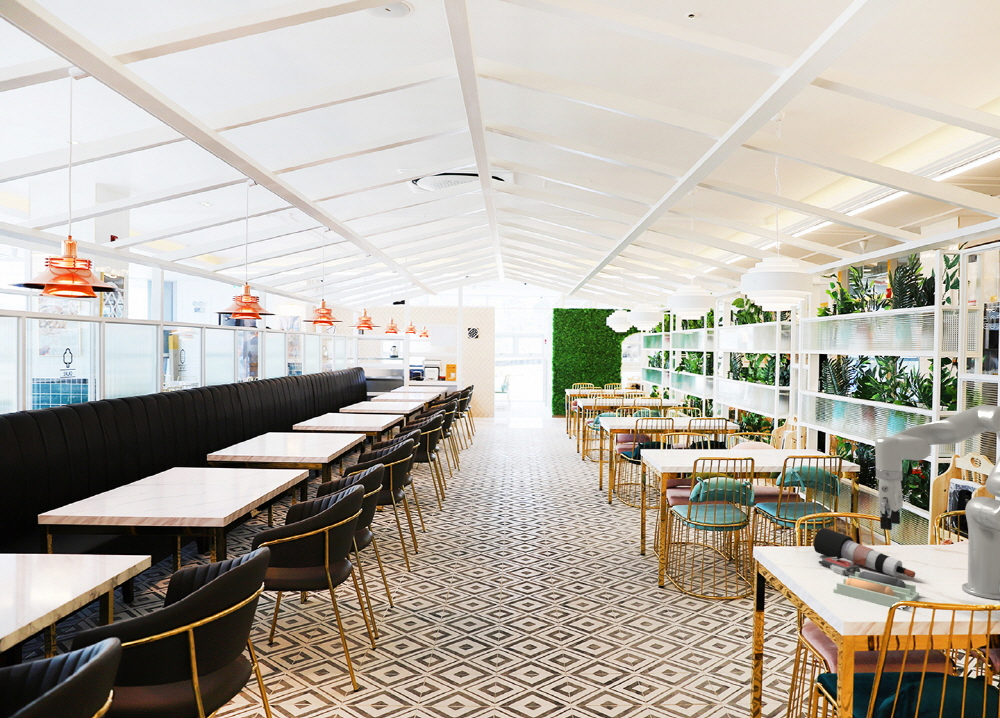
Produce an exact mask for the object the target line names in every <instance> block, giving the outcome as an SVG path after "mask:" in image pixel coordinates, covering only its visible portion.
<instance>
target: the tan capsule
mask: <svg viewBox="0 0 1000 718" xmlns="http://www.w3.org/2000/svg"><path fill="white" fill-rule="evenodd" d="M846 579H847V580H846V582H845V585H849V586H854V587H858V588H862V589H866V590H870V591H874V592H878V593H882V594H886V595H890V596H894V592H893V590H892V589H891V588H890V587H888V586H883V585H879V584H875V583H871V582H867V581H863V580H858V579H854V578H849V577H848V578H846Z"/></svg>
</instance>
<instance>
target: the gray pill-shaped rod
mask: <svg viewBox="0 0 1000 718" xmlns="http://www.w3.org/2000/svg"><path fill="white" fill-rule="evenodd" d="M858 578H863V579H867V580H871V581H875V582H880V583H884V584H888V585H892V586H896V587H901V588H906V585H905V583H906V582H905V581H904V580H903V579H900V578H897V577H893V576H889V575H882V574H879V573H874V572H870V571H865V570H862V571H860V573H859V575H858Z"/></svg>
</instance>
